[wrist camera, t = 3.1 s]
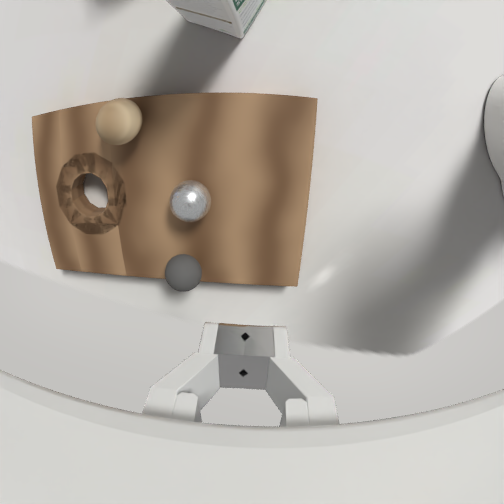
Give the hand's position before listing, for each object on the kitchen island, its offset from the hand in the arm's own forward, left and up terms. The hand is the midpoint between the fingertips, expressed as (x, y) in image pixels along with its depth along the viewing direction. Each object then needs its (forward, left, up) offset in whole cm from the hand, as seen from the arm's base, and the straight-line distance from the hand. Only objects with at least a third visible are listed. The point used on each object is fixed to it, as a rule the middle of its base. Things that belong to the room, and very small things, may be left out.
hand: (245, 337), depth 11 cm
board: (+9, 0, -19) cm, 22 cm away
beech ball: (+11, -7, -15) cm, 20 cm away
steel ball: (+5, 0, -15) cm, 16 cm away
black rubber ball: (+6, +7, -15) cm, 18 cm away
